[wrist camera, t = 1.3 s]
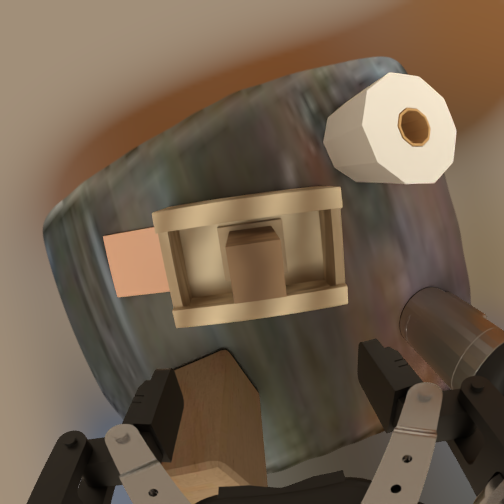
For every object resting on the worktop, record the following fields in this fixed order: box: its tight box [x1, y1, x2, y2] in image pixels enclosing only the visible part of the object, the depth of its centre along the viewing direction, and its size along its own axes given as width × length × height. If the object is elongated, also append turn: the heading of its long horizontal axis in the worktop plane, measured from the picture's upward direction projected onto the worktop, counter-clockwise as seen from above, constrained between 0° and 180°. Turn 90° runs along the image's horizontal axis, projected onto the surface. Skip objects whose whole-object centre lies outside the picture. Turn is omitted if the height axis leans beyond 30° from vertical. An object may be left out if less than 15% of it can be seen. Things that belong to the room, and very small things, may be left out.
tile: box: [103, 227, 170, 297], centre depth 35 cm, size 8×8×1 cm
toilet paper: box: [323, 73, 456, 184], centre depth 27 cm, size 10×10×12 cm
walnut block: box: [225, 226, 287, 304], centre depth 29 cm, size 4×5×8 cm
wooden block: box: [161, 350, 268, 504], centre depth 30 cm, size 10×10×20 cm
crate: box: [152, 186, 348, 328], centre depth 32 cm, size 18×12×7 cm, turn 98°
